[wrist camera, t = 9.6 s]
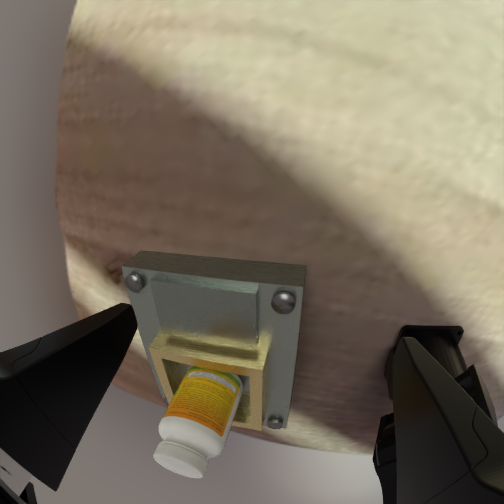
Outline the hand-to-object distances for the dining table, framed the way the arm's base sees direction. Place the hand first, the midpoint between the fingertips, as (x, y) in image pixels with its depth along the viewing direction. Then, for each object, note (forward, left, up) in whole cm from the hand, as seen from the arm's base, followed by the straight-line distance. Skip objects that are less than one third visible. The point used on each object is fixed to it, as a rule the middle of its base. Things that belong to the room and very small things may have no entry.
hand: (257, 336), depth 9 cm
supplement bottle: (+6, +15, -10) cm, 19 cm away
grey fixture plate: (+6, +13, -12) cm, 19 cm away
